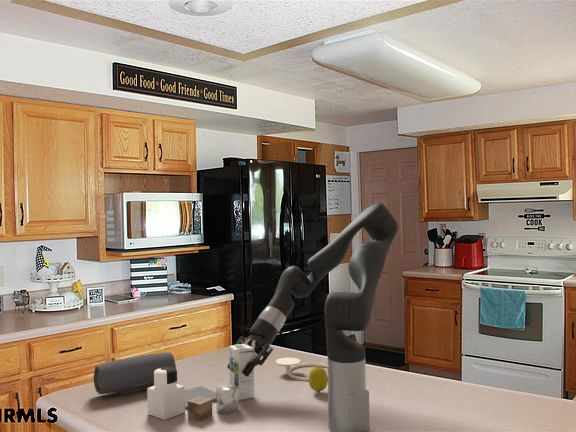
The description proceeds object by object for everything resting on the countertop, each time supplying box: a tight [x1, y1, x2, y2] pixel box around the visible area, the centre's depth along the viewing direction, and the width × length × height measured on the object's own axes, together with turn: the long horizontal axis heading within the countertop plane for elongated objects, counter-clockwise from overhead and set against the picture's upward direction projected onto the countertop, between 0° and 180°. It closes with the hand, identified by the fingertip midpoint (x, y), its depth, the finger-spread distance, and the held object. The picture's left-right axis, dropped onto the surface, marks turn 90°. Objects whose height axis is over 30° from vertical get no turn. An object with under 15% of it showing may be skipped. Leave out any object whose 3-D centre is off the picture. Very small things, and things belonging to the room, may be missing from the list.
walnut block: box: [187, 396, 213, 423], centre depth 143 cm, size 4×4×4 cm
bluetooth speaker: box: [93, 351, 177, 395], centre depth 166 cm, size 23×9×10 cm, turn 126°
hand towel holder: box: [275, 357, 328, 382], centre depth 179 cm, size 17×4×21 cm
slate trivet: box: [185, 385, 216, 410], centre depth 157 cm, size 12×12×1 cm
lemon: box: [308, 366, 328, 394], centre depth 160 cm, size 6×6×8 cm
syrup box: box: [229, 344, 255, 401], centre depth 158 cm, size 6×6×14 cm
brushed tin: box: [215, 383, 240, 415], centre depth 148 cm, size 6×6×6 cm
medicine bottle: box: [146, 367, 186, 421], centre depth 146 cm, size 7×7×12 cm
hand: (237, 371), depth 157 cm, fingers closed on syrup box, 6 cm apart
